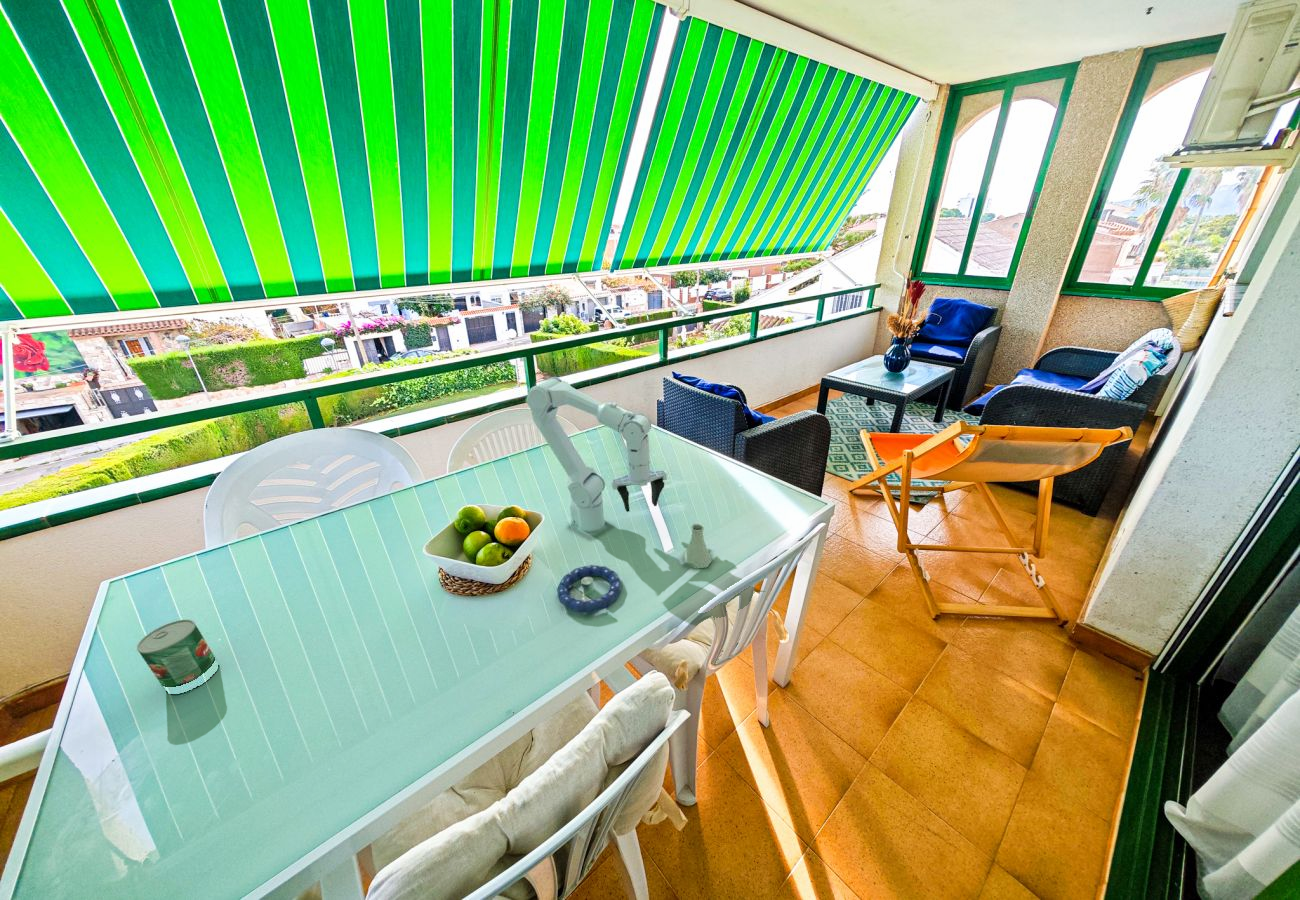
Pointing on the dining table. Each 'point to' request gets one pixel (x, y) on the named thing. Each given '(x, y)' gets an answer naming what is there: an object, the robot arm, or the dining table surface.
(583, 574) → the ring
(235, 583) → the dining table surface
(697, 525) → the flask
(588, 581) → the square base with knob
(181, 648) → the canned tomato
